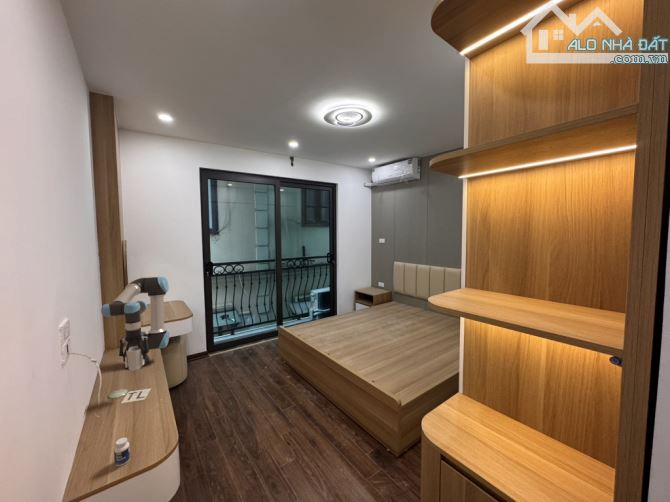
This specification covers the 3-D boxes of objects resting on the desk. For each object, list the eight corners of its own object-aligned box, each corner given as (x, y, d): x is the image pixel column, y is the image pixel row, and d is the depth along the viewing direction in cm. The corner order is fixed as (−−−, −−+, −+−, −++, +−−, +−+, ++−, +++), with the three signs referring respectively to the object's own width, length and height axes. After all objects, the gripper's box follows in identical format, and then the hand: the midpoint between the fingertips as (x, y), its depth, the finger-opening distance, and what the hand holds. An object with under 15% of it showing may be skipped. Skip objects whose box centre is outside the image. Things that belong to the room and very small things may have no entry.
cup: (134, 371, 162) (133, 352, 161) (123, 370, 163) (122, 350, 162) (146, 365, 170) (145, 346, 169) (135, 363, 171) (134, 345, 170)
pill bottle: (114, 469, 117) (113, 447, 116) (115, 460, 121) (113, 439, 120) (130, 462, 120) (129, 441, 119) (130, 454, 124) (129, 434, 124)
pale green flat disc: (112, 391, 172) (112, 390, 172) (129, 388, 175) (129, 387, 175) (106, 399, 163) (106, 398, 163) (124, 397, 166) (124, 396, 166)
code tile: (128, 392, 172) (128, 391, 172) (151, 388, 176) (151, 388, 175) (120, 403, 160) (120, 403, 160) (144, 400, 164) (144, 399, 164)
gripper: (109, 332, 158) (112, 371, 160) (151, 329, 164) (152, 365, 166) (115, 328, 165) (117, 365, 167) (154, 324, 171) (156, 360, 173)
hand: (135, 365), depth 166 cm, fingers closed on cup, 7 cm apart
